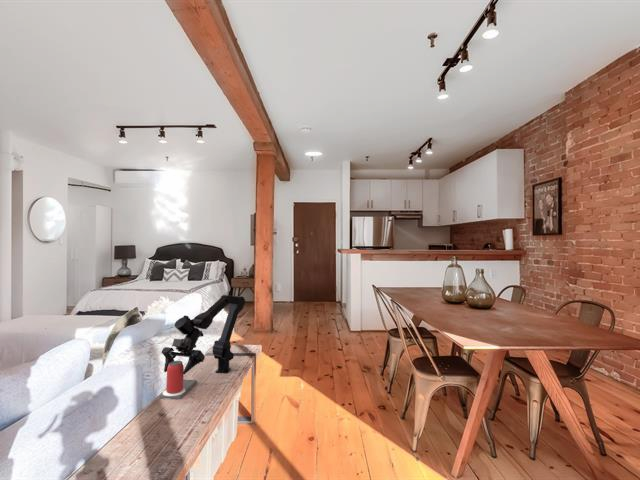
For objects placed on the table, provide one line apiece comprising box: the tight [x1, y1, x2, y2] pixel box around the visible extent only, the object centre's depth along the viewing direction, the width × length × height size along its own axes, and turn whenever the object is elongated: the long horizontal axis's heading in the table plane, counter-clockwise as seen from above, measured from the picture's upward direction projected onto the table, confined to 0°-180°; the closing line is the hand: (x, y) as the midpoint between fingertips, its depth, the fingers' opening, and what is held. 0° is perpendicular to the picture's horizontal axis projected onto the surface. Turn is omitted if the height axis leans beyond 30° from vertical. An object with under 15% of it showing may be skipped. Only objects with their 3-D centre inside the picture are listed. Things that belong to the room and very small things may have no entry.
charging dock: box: [159, 378, 198, 400], centre depth 150 cm, size 18×9×2 cm, turn 179°
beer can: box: [165, 360, 185, 394], centre depth 145 cm, size 7×7×12 cm
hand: (174, 372), depth 145 cm, fingers open, 9 cm apart
